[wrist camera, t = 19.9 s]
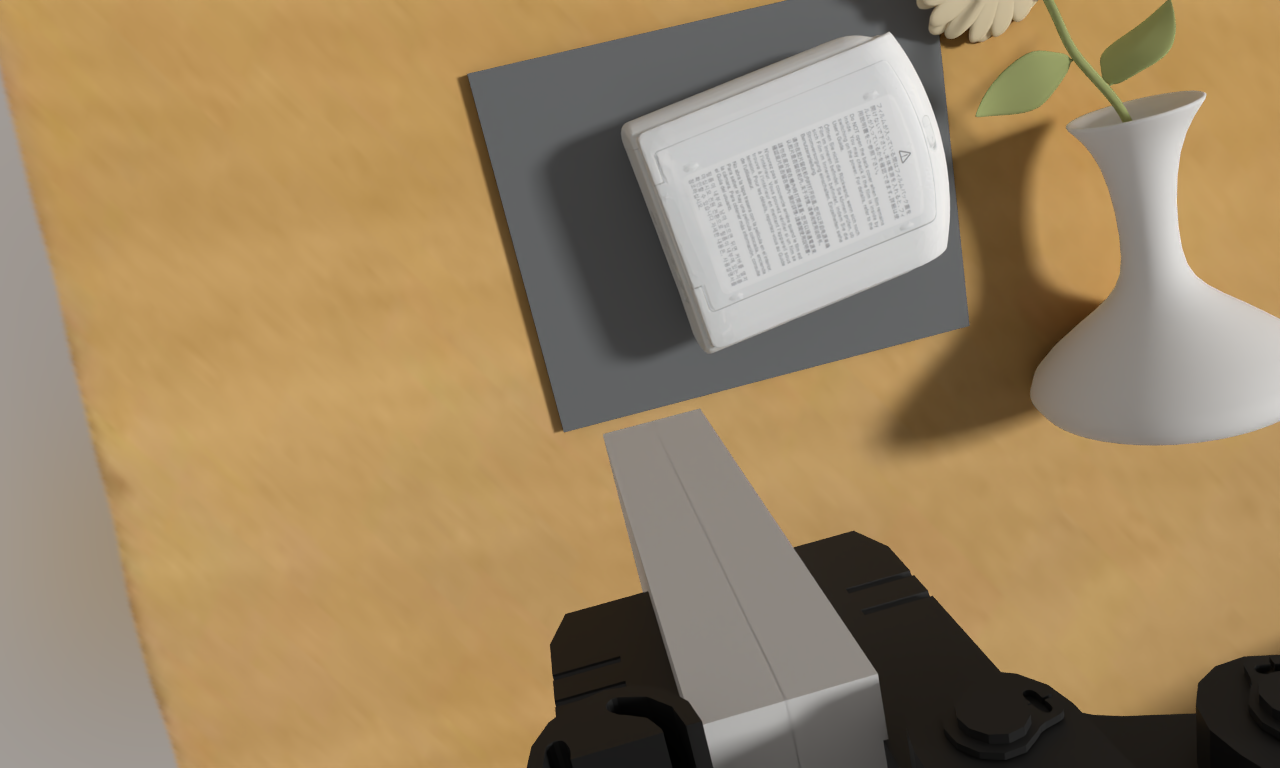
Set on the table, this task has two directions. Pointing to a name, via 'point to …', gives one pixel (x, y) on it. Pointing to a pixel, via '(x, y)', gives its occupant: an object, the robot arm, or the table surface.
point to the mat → (624, 231)
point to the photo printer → (794, 186)
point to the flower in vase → (1136, 257)
